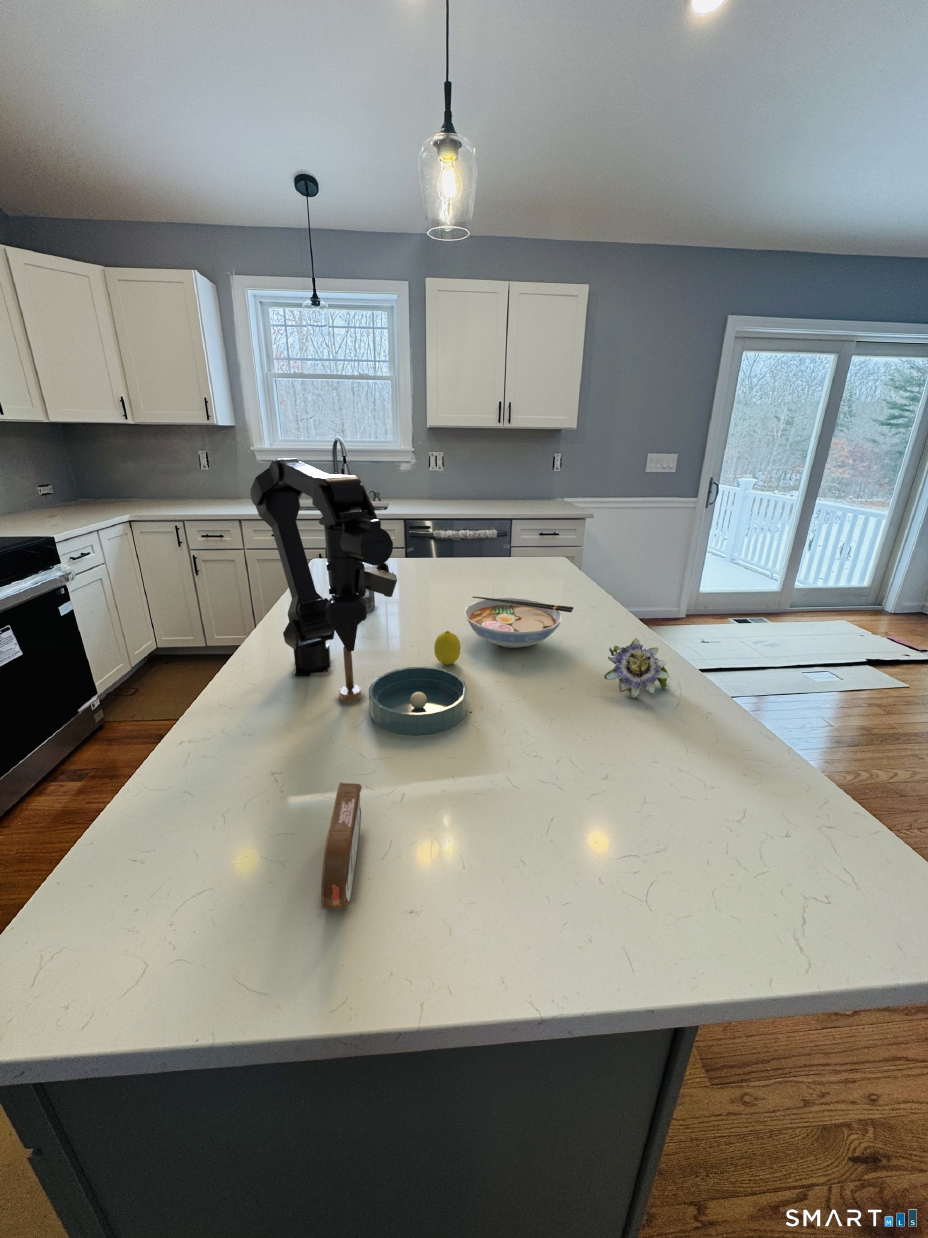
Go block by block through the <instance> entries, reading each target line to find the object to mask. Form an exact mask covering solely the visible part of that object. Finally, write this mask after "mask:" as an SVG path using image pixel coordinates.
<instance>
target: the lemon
mask: <svg viewBox="0 0 928 1238" xmlns="http://www.w3.org/2000/svg"><path fill="white" fill-rule="evenodd" d="M433 650H434V655H435V658H436V660H437V661H438V662H439V663H441V664H442V665H445V666H449V665H452V664H455V662H457V661H458V660H459V658H460V656H461V641H460V639H459V637H458V635H456V634H455V633H454V632H452V631H450V630H445V631H444V632H442V633H440V634H439V635H438V636H437V637H436V639H435V641H434V646H433Z"/></svg>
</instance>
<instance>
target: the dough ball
mask: <svg viewBox="0 0 928 1238" xmlns="http://www.w3.org/2000/svg"><path fill="white" fill-rule="evenodd" d="M410 703H411V705H412V706H413V707H414V708H416V709H421V708H423V707H424V706H425V705H426V703H427V698H426V696H425V694H424V693H422V692H415V693H414V694H412V696H411V698H410Z"/></svg>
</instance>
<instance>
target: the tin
mask: <svg viewBox="0 0 928 1238" xmlns="http://www.w3.org/2000/svg"><path fill="white" fill-rule="evenodd" d="M361 792H362V785H361V784H360V783H356V782H355V783H354V782H353V783H352V782H347V783H346V782H342V781H340V782H339V784H338V785H337V791H336V795H335V800H334V803H333V809H332V813H331V817H330V822H329V827H328V831H327V836H326V842H325V847H324V854H323V862H322V871H321V873H322V874H321V893H320V896H321V898H320V899H321V900H320V901H321V908H322V910H323V911H324V910H327V909H345V908H348V907H349V905H350V903H351V899H352V892H353V886H354V880H355V872H356V867H357V860H358V852H359V843H360V833H361V831H360V830H361V823H362V822H361V821H362V808H361Z"/></svg>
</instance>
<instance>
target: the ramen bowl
mask: <svg viewBox="0 0 928 1238" xmlns="http://www.w3.org/2000/svg"><path fill="white" fill-rule="evenodd" d="M471 598H472V599H479V600H477V601H475V602H473V603H471V604H469V605H467V606H466V607H465V609H464V611H463V614H464V617H465V619H466V621H467V622H468V624H469V626H470V627H471V628H472V630H473V632H474V633H475V635H477V636H478V637H480V638H481V639H483V640H485V641H486V642H488V643H490V644H492V645H496V646H500V647H503V648H508V649H519V648H524V647H525V648H526V647H530V646H533V645H537V644H539V643H541V642H543V641H544V640H546V639H547V638H549V637H550V636H551V634H554V633H555V631H556V630H557V628H558V627H559V626H560V624H561V623H562V620H563V619H562V618H563V615H562V612H564V613H565V612H566V613H572V612H573V611H574V606H570V605H569V606H567V605H558V604H548V603H544V602H542V601H537V600H534V599H533V600H532V599H528V598H518V597H482V596H475V595H473V596H472V597H471Z"/></svg>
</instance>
